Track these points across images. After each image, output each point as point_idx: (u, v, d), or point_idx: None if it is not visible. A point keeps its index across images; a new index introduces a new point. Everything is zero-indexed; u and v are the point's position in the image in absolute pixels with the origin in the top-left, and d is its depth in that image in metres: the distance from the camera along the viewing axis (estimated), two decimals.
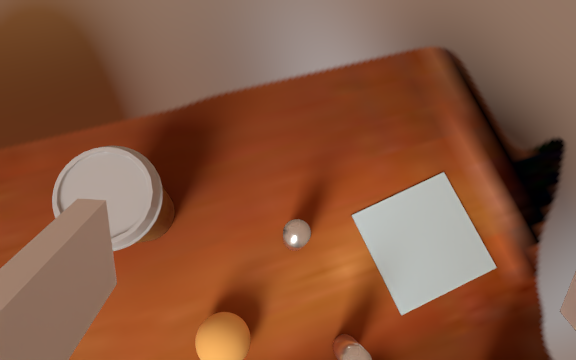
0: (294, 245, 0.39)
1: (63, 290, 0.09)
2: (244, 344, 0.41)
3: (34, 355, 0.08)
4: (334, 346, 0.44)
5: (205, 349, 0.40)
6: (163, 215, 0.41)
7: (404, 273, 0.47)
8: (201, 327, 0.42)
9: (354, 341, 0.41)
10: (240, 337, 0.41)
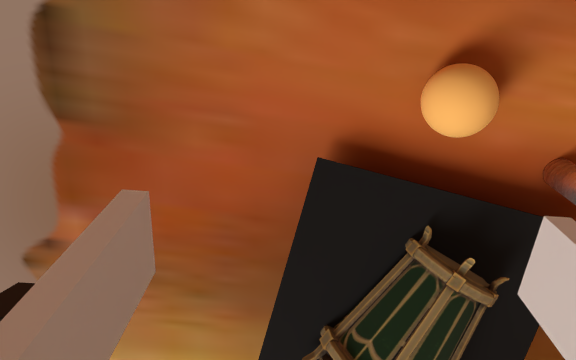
0: None
1: (117, 274, 0.10)
2: (489, 122, 0.31)
3: (95, 333, 0.09)
4: (558, 169, 0.35)
5: (451, 104, 0.30)
6: None
7: None
8: (453, 74, 0.30)
9: None
10: (494, 112, 0.30)
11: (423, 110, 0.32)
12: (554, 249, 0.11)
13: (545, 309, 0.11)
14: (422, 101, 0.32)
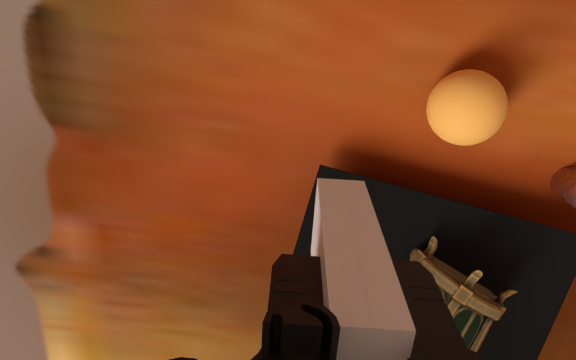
0: None
1: None
2: None
3: None
4: (567, 178, 0.34)
5: (459, 112, 0.29)
6: None
7: None
8: (460, 80, 0.29)
9: None
10: (502, 120, 0.29)
11: (429, 117, 0.31)
12: None
13: None
14: (428, 108, 0.31)
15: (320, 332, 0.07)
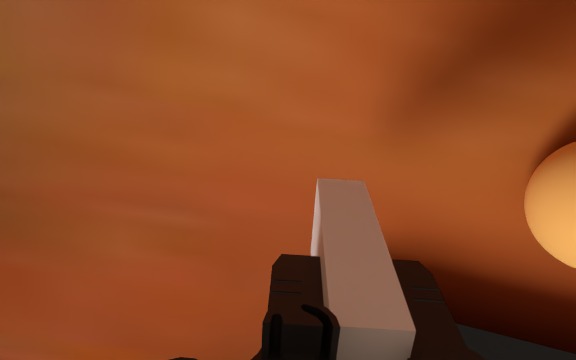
0: None
1: None
2: None
3: None
4: None
5: None
6: None
7: None
8: None
9: None
10: None
11: (535, 222, 0.17)
12: None
13: None
14: (534, 205, 0.17)
15: (320, 332, 0.07)
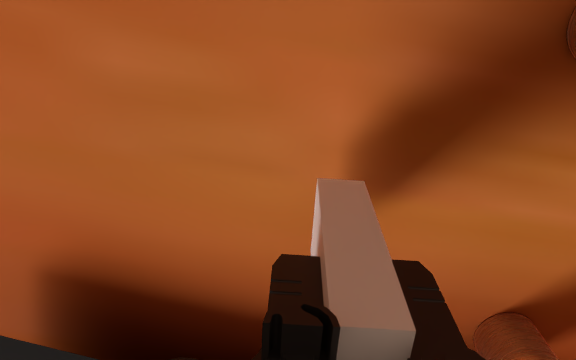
0: None
1: None
2: None
3: None
4: (500, 348, 0.16)
5: None
6: None
7: None
8: None
9: None
10: None
11: None
12: None
13: None
14: None
15: (320, 332, 0.07)
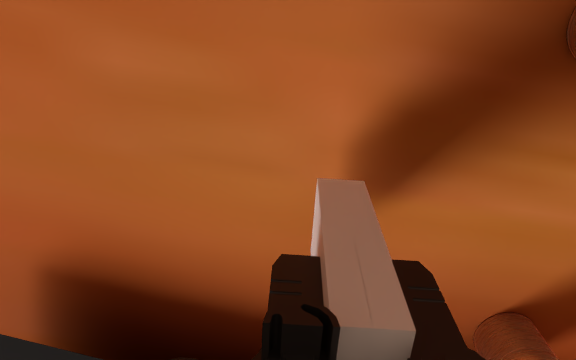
0: None
1: None
2: None
3: None
4: (500, 348, 0.16)
5: None
6: None
7: None
8: None
9: None
10: None
11: None
12: None
13: None
14: None
15: (320, 332, 0.07)
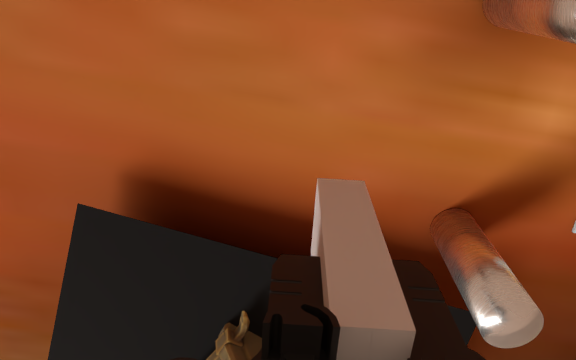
0: None
1: None
2: None
3: None
4: (445, 228, 0.23)
5: None
6: None
7: None
8: None
9: (504, 261, 0.20)
10: None
11: None
12: None
13: None
14: None
15: (320, 332, 0.07)
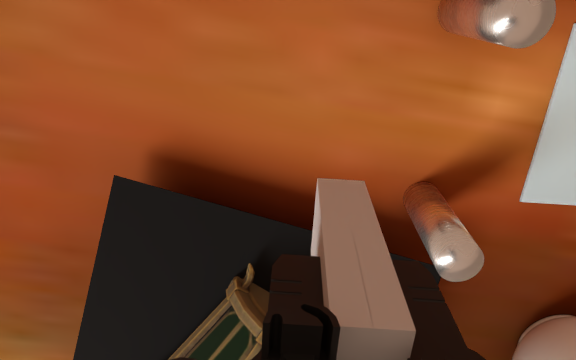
0: (501, 39, 0.18)
1: None
2: None
3: None
4: (414, 196, 0.29)
5: None
6: None
7: (571, 154, 0.29)
8: None
9: (457, 218, 0.26)
10: None
11: None
12: None
13: None
14: None
15: (320, 332, 0.07)
